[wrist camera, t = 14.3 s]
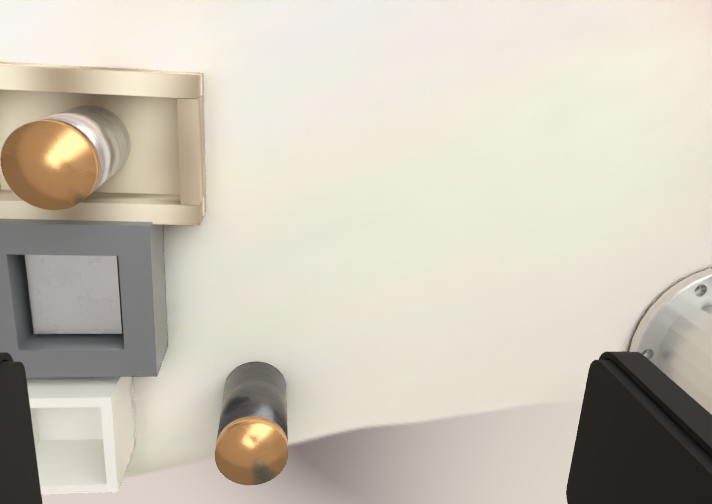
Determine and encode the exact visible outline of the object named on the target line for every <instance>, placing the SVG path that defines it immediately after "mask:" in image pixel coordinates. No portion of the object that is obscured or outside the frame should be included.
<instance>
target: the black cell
mask: <svg viewBox="0 0 712 504" xmlns="http://www.w3.org/2000/svg"><path fill="white" fill-rule="evenodd" d="M287 459H288V437H287V403H286V383H285V379H284V377H283V375H282V374H281V373H280V371H279V370H278V369H276V368H275V367H274V366H272V365H270V364H267V363H264V362H249V363H245V364H242V365H240V366H239V367H237V368H236V369H234V370H233V371H232V372H231V373H230V375H229V376H228V378H227V380H226V384H225V389H224V396H223V403H222V410H221V417H220V423H219V430H218V437H217V444H216V451H215V461H216V464H217V467H218V469H219V470H220V472H221V473H222V474H223V475H224V476H225V477H226V478H228V479H229V480H231V481H233V482H236V483H238V484H243V485H257V484H261V483H265V482H267V481H270V480H271V479H273V478H275V477H276V476H277V475H278V474H279V473H280V472H281V471H282V470H283V468H284V467H285V465H286V462H287Z"/></svg>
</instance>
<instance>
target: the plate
mask: <svg viewBox="0 0 712 504" xmlns="http://www.w3.org/2000/svg"><path fill="white" fill-rule="evenodd" d="M25 262H26V270H27V279H28V287H29V296H30V304H31V313H32V321H33V330H34V334H122V333H123V319H122V305H121V290H120V275H119V260H118V256H82V255H25Z"/></svg>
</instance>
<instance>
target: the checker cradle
mask: <svg viewBox="0 0 712 504" xmlns="http://www.w3.org/2000/svg"><path fill="white" fill-rule="evenodd" d="M25 255H82V256H118V260H119V275H120V290H121V305H122V319H123V333H122V334H34V330H33V321H32V313H31V304H30V296H29V287H28V279H27V270H26V262H25ZM167 347H168V335H167V311H166V287H165V264H164V240H163V224H153V222H130V221H85V220H40V219H0V352H8V353H9V354H10V355H11V356H12V358H13V361H14V362H21V363H23V365H24V367H25V372H26V378H43V377H145V376H157V375H158V372H159V370H160V367H161V364H162V361H163V358H164V355H165V353H166V350H167Z"/></svg>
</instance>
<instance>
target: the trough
mask: <svg viewBox="0 0 712 504" xmlns="http://www.w3.org/2000/svg"><path fill="white" fill-rule="evenodd" d="M81 105H95V106H100V107H103V108H105V109H107V110H109V111H111V112H112V113H114V114H115V115H116V116H117V117H118V118H119V119H120V120H121V121H122V122H123V124H124V125H125V127H126V129H127V131H128V133H129V137H130V142H131V149H130V154H129V157H128V159H127V161H126V163H125V165H124V166H123V167H122V168H121V169H120V170H119V171H117V172H116V173H115V174H114V175H113V176H111V177H110V178H109V179H108V180H107V181H105V182H104V183H103V184H102V185H101V186H99V187H98V188H97V189H96V190H95V191H93V192H92V193H91V194H90V195H89V196H87V197H86V198H85V199H84V200H83V201H81V202H80V203H78V204H77V205H75V206H73V207H71V208H67V209H63V210H45V209H41V208H38V207H35V206H32V205H30V204H28V203H27V202H25V201H23V200H22V199H21V198H19V197H18V196H17V195H16V194H15V193H14V192H13V191H12V189H11V188H10V187H9V185H8V184H7V182H6V180H5V178H4V176H3V173H2V169H1V161H0V219H40V220H85V221H130V222H153V224H166V225H200V224H201V221H202V219H203V217H204V214H205V212H206V195H205V143H204V91H203V73H195V72H176V71H158V70H139V69H121V68H102V67H84V66H65V65H46V64H28V63H9V62H0V158H1V151H2V147H3V145H4V143H5V141H6V139H7V138H8V136H9V135H10V134H11V133H12V132H13V131H14V130H16V129H17V128H19V127H20V126H22V125H25V124H27V123H30V122H33V121H36V120H39V119H42V118H45V117H48V116H51V115H54V114H57V113H59V112H62V111H65V110H68V109H71V108H74V107H77V106H81Z"/></svg>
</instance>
